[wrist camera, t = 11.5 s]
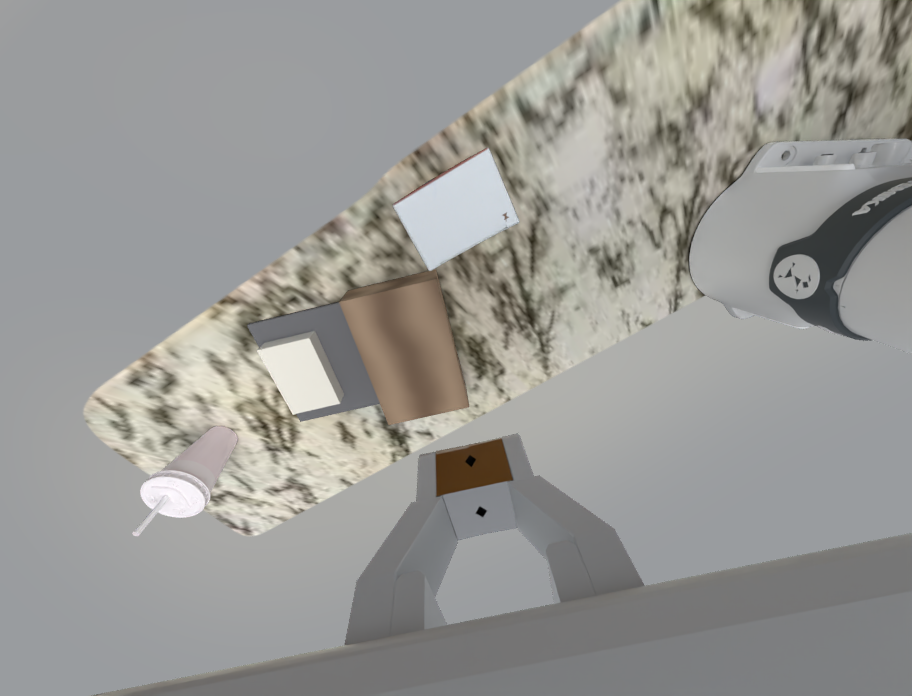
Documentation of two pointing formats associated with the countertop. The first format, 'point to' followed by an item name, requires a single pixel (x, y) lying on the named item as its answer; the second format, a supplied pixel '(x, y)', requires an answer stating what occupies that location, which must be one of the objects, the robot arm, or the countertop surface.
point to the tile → (302, 372)
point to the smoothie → (188, 477)
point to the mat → (336, 347)
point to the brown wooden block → (407, 346)
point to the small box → (457, 210)
